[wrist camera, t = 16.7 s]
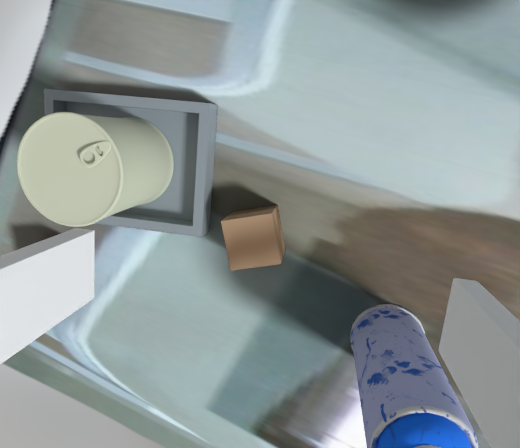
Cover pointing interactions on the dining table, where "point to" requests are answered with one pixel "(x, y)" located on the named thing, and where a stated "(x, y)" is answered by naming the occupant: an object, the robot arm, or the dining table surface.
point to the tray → (183, 149)
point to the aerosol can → (404, 384)
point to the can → (92, 166)
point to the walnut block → (253, 238)
